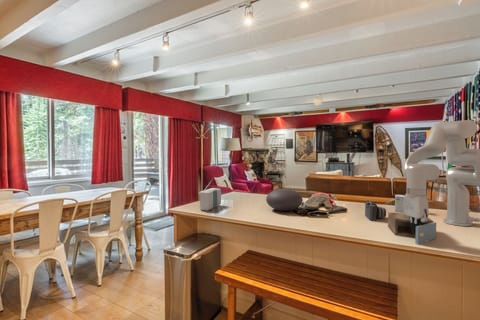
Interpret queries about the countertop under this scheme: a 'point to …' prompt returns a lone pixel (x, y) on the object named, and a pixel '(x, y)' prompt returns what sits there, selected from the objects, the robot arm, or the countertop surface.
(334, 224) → the countertop surface
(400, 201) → the light bulb box
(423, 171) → the robot arm
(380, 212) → the camera
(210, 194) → the stereo radio cassette player
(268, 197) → the smooth stone
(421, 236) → the case door
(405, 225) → the walnut case
